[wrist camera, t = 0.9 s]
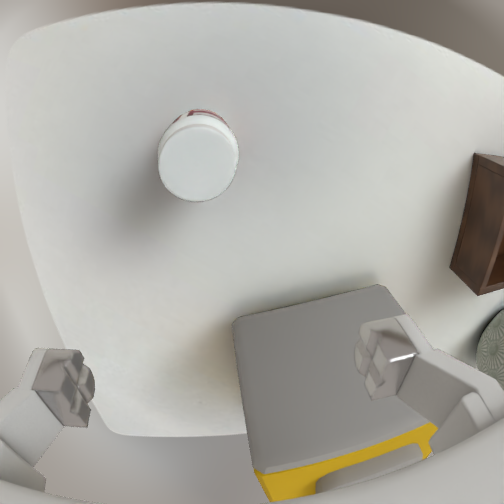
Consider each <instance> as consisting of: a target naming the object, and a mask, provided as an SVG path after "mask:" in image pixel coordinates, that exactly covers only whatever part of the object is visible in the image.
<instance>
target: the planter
mask: <svg viewBox="0 0 504 504" xmlns="http://www.w3.org/2000/svg"><path fill="white" fill-rule="evenodd" d="M476 361H477V367H478V370H479V371H481V372H483V373H485V374H487V375H488V376H490V377H492V378H494V379H496V380H497V382H498V383H499V385H500V386H501V388H502V389H503V391H504V309H503V310H502V311H501V312H500V313H498V314H497V315H496V316H495V317H494V319H493V320H492V321H491V322H490V323H489V325H488V326H487V327H486V329H485V330H484V332H483V334H482V336H481V338H480V340H479V343H478V346H477V352H476Z"/></svg>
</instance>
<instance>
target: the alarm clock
mask: <svg viewBox="0 0 504 504" xmlns="http://www.w3.org/2000/svg"><path fill="white" fill-rule="evenodd" d="M404 314H406V313H405V312H404V311H403V309H402V308H401V307H400V305H399V304H398V303H397V301H396V300H395V299H394V297H393V296H392V295H391V293H390V292H389V291H388V289H387V288H386V287H384V286H381V285H378V284H377V285H373V286H369V287H366V288H362V289H358V290H354V291H350V292H346V293H342V294H338V295H334V296H330V297H326V298H322V299H318V300H314V301H309V302H305V303H301V304H297V305H292V306H288V307H283V308H279V309H274V310H270V311H265V312H260V313H256V314H251V315H246V316H241V317H239V318H238V319H237V320H236V321H235V322H234V323H233V324H232V331H233V340H234V348H235V356H236V363H237V370H238V377H239V384H240V390H241V397H242V403H243V410H244V416H245V422H246V429H247V434H248V441H249V447H250V453H251V459H252V465H253V468H254V473H255V475H256V476H257V478H258V480H259V482H260V484H261V486H262V488H263V490H264V492H265V494H266V495H267V497H268V499H269V501H270V502H276V501H282V500H288V499H293V498H299V497H304V496H309V495H313V494H318V493H322V492H326V491H331V490H335V489H338V488H342V487H346V486H349V485H353V484H356V483H360V482H363V481H366V480H369V479H373V478H376V477H379V476H382V475H384V474H387V473H390V472H393V471H396V470H398V469H401V468H404V467H406V466H409V465H411V464H414V463H416V462H419V461H421V460H423V459H426V458H427V457H428V455H429V454H430V453H431V451H432V449H431V447H430V445H429V443H428V442H429V440H430V438H431V437H432V436H433V434H434V433H435V432H436V431H437V430H438V427H436V426H435V425H434V424H432V423H431V422H430V421H428V420H427V419H426V418H424V417H423V416H422V415H420V414H419V413H418V412H416V411H415V410H414V409H413V408H411V407H410V406H409V405H407V404H406V403H405V402H403V401H402V400H401V399H399V398H398V397H397V396H396V395H397V394H396V395H393V396H389V397H385V398H381V399H377V400H373V401H371V399H370V396H369V394H368V392H367V390H366V388H365V386H364V382H365V379H366V377H365V376H363V375H361V374H360V373H359V372H358V370H357V368H356V365H355V361H354V348H355V344H356V342H357V341H358V340H359V339H360V338H361V337H360V335H359V333H358V332H359V328H360V326H361V325H362V323H366V322H371V321H376V320H380V319H385V318H390V317H391V318H392V317H395V316H399V315H404Z"/></svg>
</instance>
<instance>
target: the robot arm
mask: <svg viewBox="0 0 504 504" xmlns="http://www.w3.org/2000/svg"><path fill="white" fill-rule="evenodd" d="M358 333H359V335H360V337H361V338H360V339H359V340H358V341H357V342H356V344H355V348H354V361H355V365H356V368H357V370H358V372H359V373H360V374H361V375H363V376H365V377H366V379H365V382H364V386H365V388H366V390H367V392H368V394H369V396H370V399H371V401H373V400H377V399H381V398H385V397H389V396H393V395H396V394H397V395H396V396H397V397H398V398H399V399H401V400H402V401H403V402H405V403H406V404H407V405H409V406H410V407H411V408H413V409H414V410H415V411H416V412H418V413H419V414H420V415H422V416H423V417H424V418H426V419H427V420H428V421H430V422H431V423H432V424H434V425H435V426H436V427H438V430H437V431H436V432H435V433H434V434H433V436H432V437H431V438H430V440H429V442H428V443H429V445H430V447H431V449H432V452H433V454H434V455H433V456H430V457H428V458H426V459H423V460H421V461H419V462H416V463H414V464H411V465H409V466H406V467H404V468H401V469H398V470H396V471H393V472H390V473H387V474H384V475H382V476H379V477H376V478H373V479H369V480H366V481H363V482H360V483H356V484H353V485H349V486H346V487H342V488H338V489H335V490H331V491H326V492H322V493H318V494H313V495H309V496H304V497H299V498H293V499H288V500H282V501H276V502H269V503H262V504H504V391H503V389H502V388H501V386H500V385H499V383H498V382H497V380H496V379H494V378H492V377H490V376H488V375H487V374H485V373H483V372H481V371H479V370H477V369H475V368H473V367H471V366H469V365H468V364H466V363H464V362H462V361H460V360H458V359H456V358H454V357H452V356H450V355H449V354H447V353H445V352H443V351H441V350H439V349H435V350H434V349H433V348H432V346H431V345H430V343H429V342H428V340H427V339H426V338H425V336H424V335H423V333H422V332H421V331H420V329H419V328H418V326H417V325H416V324H415V322H414V321H413V319H412V318H411V317H410V316H409V315H407V314H404V315H399V316H395V317H392V318H391V317H390V318H385V319H380V320H376V321H371V322H366V323H362V325H361V326H360V328H359V332H358ZM83 361H84V357H83V355H82V354H81V352H80V351H79V350H72V349H44V348H36V349H35V350H34V351H33V352H32V354H31V357H30V359H29V361H28V363H27V366H26V368H25V371H24V373H23V376H22V378H21V380H20V383H19V386H18V388H13V389H12V390H11V391H10V392H9V393H8V394H7V395H5V396H4V397H3V398H2V399H1V400H0V504H103V503H95V502H89V501H83V500H77V499H72V498H67V497H62V496H58V495H53V494H49V493H45V492H44V490H45V483H46V478H45V477H44V475H42V474H41V473H40V472H39V471H37V470H36V469H35V468H33V467H34V466H35V465H36V463H37V462H38V461H39V459H40V457H42V455H43V454H44V453H45V451H46V450H47V449H48V448H49V446H50V445H51V444H52V442H53V441H54V440H55V438H56V437H57V436H58V434H59V433H60V432H61V431H62V429H63V428H64V426H71V427H87V426H88V421H89V416H90V411H91V409H90V407H89V405H88V402H89V401H90V400H91V399H92V398H93V397H94V392H95V380H94V377H93V374H92V372H91V370H90V368H89V367H87V366H86V365H84V364H83Z"/></svg>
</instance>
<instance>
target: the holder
mask: <svg viewBox="0 0 504 504" xmlns="http://www.w3.org/2000/svg"><path fill="white" fill-rule="evenodd" d="M450 269H451V270H452V271H453V272H454V273H455V274H456V275H457V276H458V277H459V278H460V279H461V280H462V281H463V282H464V283H465V284H466V285H467V286H468V287H469V288H470V289H471V290H472V291H473V292H474V293H475V294H476V295H477V296H479V295H483V294H486V293H490V292H493V291H496V290H500V289H503V288H504V157H501V156H494V155H486V154H478V153H474V159H473V166H472V173H471V179H470V184H469V190H468V195H467V200H466V205H465V210H464V214H463V219H462V223H461V227H460V232H459V236H458V240H457V243H456V247H455V251H454V254H453V258H452V261H451V265H450Z"/></svg>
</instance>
